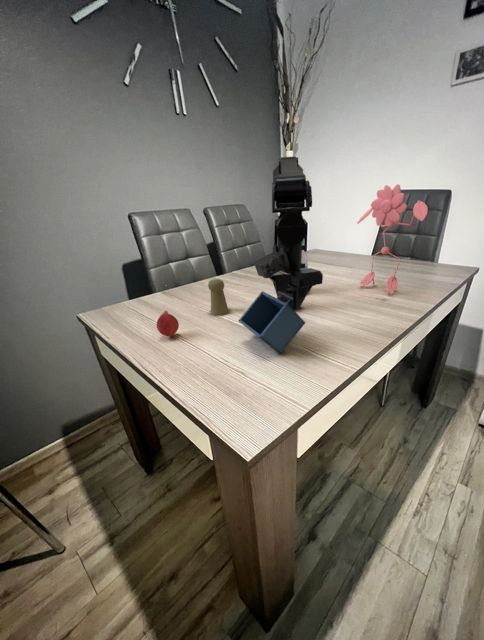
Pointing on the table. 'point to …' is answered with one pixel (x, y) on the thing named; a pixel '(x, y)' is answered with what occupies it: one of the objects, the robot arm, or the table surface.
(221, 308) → the tan chess pawn
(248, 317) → the blue drawer
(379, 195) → the figurine
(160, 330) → the onion
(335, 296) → the table surface
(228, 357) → the table surface
